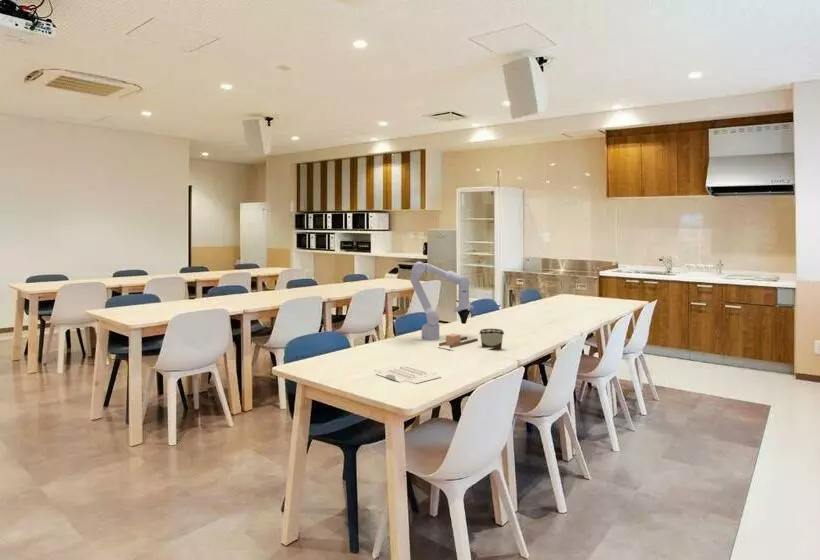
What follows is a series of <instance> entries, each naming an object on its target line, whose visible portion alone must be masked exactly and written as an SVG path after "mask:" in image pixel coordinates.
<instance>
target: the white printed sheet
mask: <svg viewBox="0 0 820 560" xmlns="http://www.w3.org/2000/svg"><path fill="white" fill-rule="evenodd" d="M374 370H375V371H374V372H377V371H378V372H377V373H376V374H377V375H378V376H380V377H384V378H387V379H390V380H393V381H396V382H398V383H403V382H404V383H405V382H408V383H411V384H414V385H416V384H419V383H423V382H427V381H432V380H434V379H438V378H440V379H441V376H439V375H435V374H437V372H435V371H432V370H429V369H425V368H422V367H417V366H415V365H411V366H410V365H409V366H406V365H401V364H395V365H390V366H386V367H381V368H376V369H374Z"/></svg>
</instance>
